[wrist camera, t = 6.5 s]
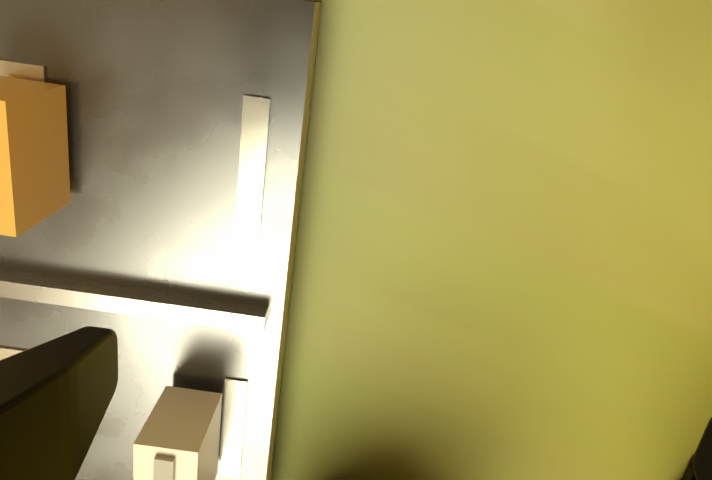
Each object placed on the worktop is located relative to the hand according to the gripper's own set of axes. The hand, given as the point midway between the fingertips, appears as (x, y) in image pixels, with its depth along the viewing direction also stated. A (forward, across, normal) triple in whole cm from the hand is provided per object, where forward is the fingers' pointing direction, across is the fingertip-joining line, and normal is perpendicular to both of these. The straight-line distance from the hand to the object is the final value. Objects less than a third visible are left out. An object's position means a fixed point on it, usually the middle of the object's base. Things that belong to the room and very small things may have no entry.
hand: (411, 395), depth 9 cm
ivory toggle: (+10, +6, +10) cm, 16 cm away
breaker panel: (+12, +9, +5) cm, 16 cm away
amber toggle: (+10, +11, 0) cm, 15 cm away
